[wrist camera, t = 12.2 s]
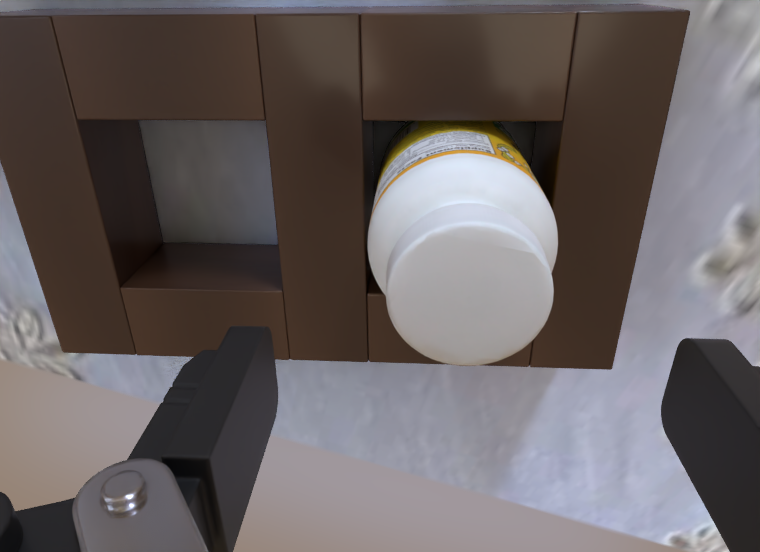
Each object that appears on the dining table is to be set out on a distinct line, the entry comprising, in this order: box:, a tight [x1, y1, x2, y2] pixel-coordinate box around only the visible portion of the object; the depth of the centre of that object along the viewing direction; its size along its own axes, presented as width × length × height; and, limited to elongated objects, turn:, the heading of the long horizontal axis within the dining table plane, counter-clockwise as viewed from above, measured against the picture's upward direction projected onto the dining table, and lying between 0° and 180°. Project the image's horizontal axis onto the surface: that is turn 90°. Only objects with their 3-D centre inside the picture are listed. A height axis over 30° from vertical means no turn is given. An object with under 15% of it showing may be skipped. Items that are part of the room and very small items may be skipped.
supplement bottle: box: [368, 121, 558, 366], centre depth 18 cm, size 5×5×10 cm
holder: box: [0, 4, 690, 369], centre depth 21 cm, size 21×12×4 cm, turn 91°
